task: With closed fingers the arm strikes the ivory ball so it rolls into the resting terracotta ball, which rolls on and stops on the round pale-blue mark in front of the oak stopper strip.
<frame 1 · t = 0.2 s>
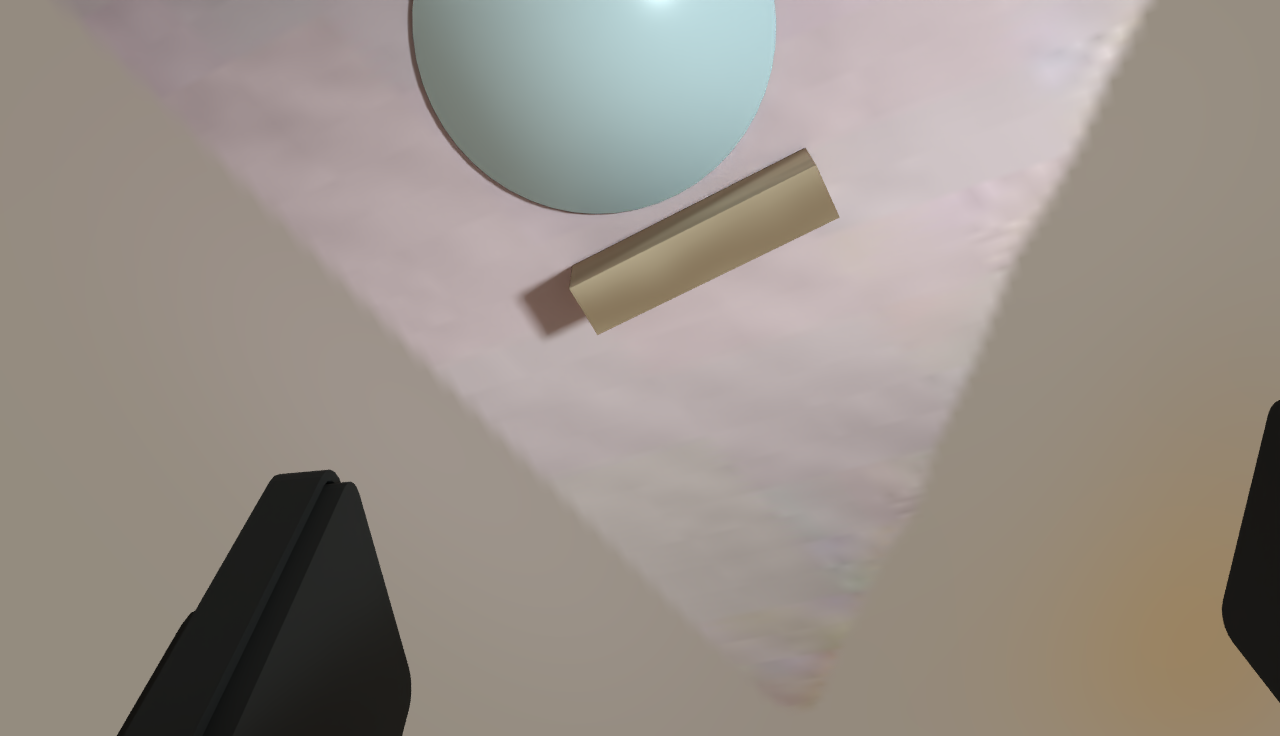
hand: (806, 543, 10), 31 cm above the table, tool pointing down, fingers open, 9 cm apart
blue mark: (595, 39, 37), on the table
oak stopper: (698, 232, 41), on the table
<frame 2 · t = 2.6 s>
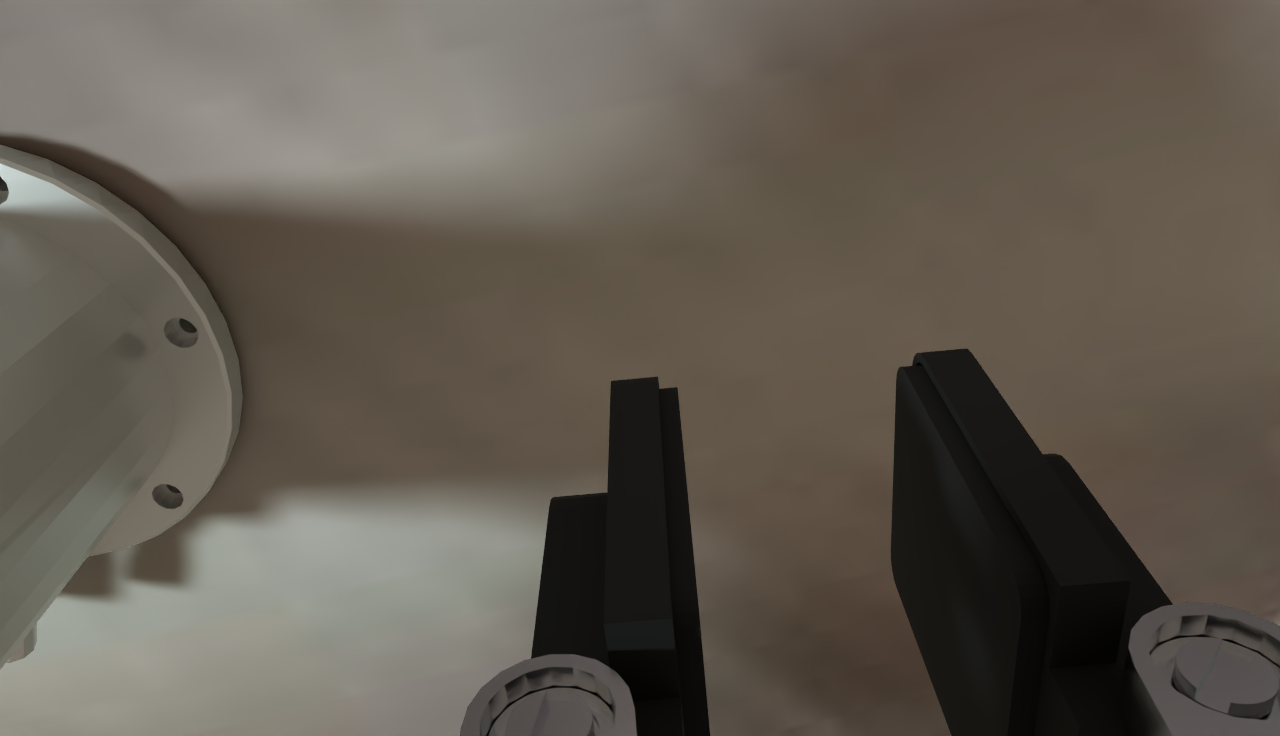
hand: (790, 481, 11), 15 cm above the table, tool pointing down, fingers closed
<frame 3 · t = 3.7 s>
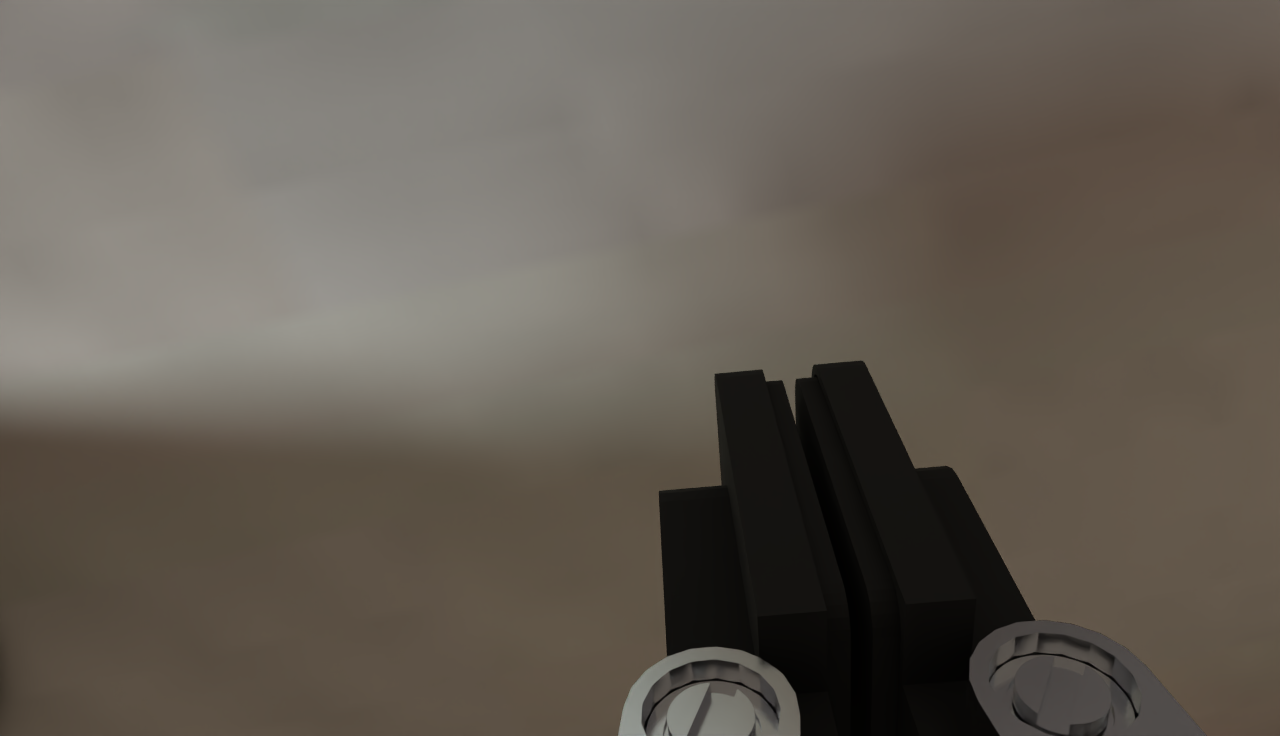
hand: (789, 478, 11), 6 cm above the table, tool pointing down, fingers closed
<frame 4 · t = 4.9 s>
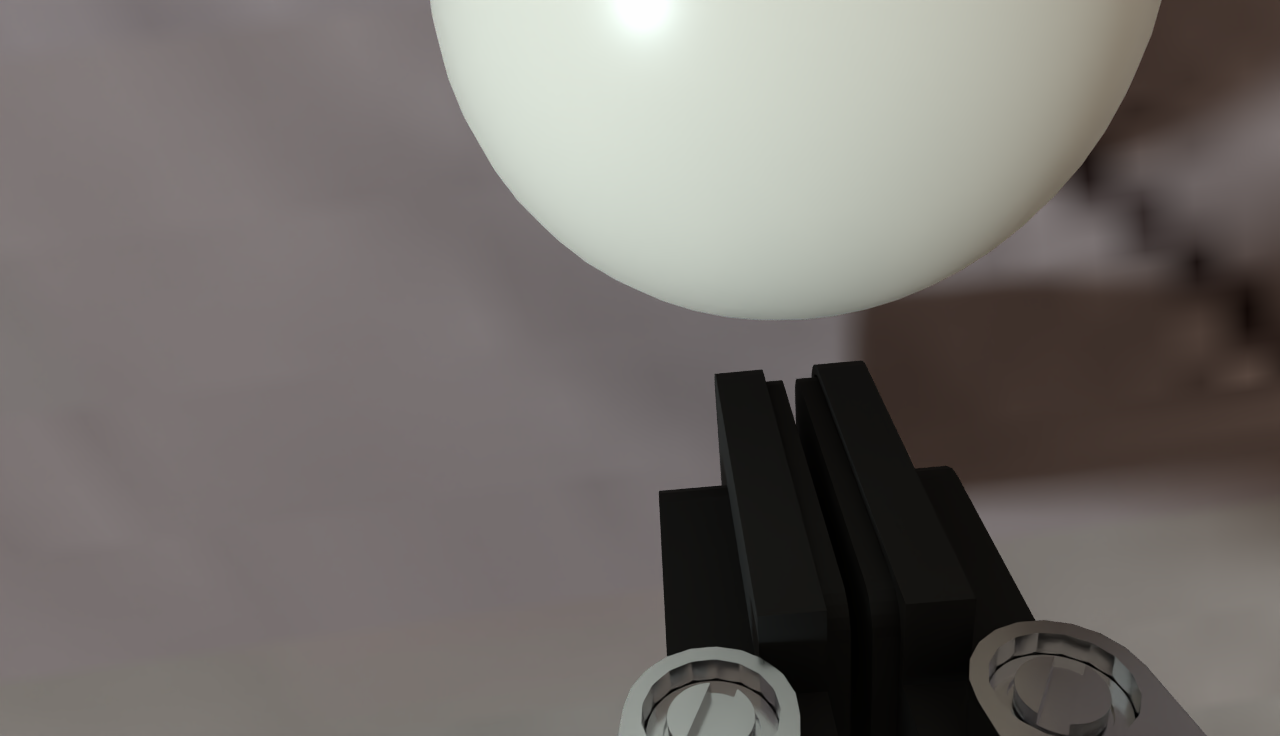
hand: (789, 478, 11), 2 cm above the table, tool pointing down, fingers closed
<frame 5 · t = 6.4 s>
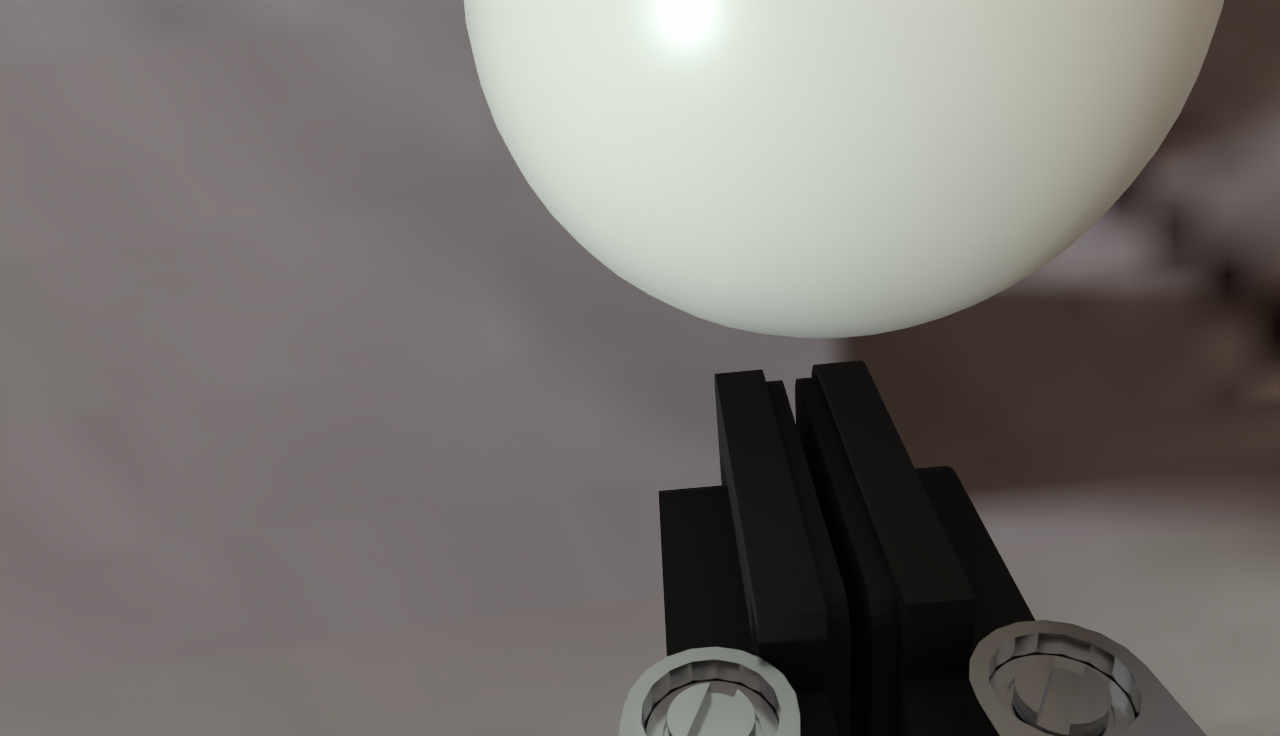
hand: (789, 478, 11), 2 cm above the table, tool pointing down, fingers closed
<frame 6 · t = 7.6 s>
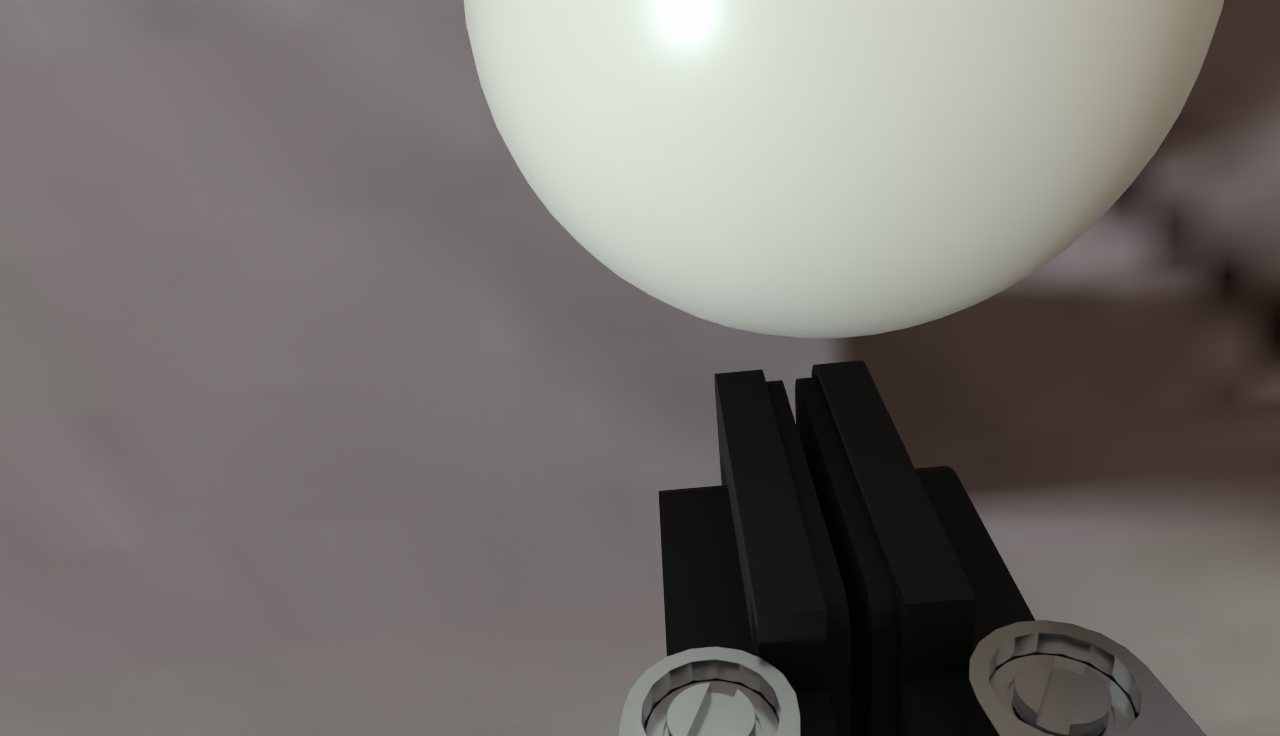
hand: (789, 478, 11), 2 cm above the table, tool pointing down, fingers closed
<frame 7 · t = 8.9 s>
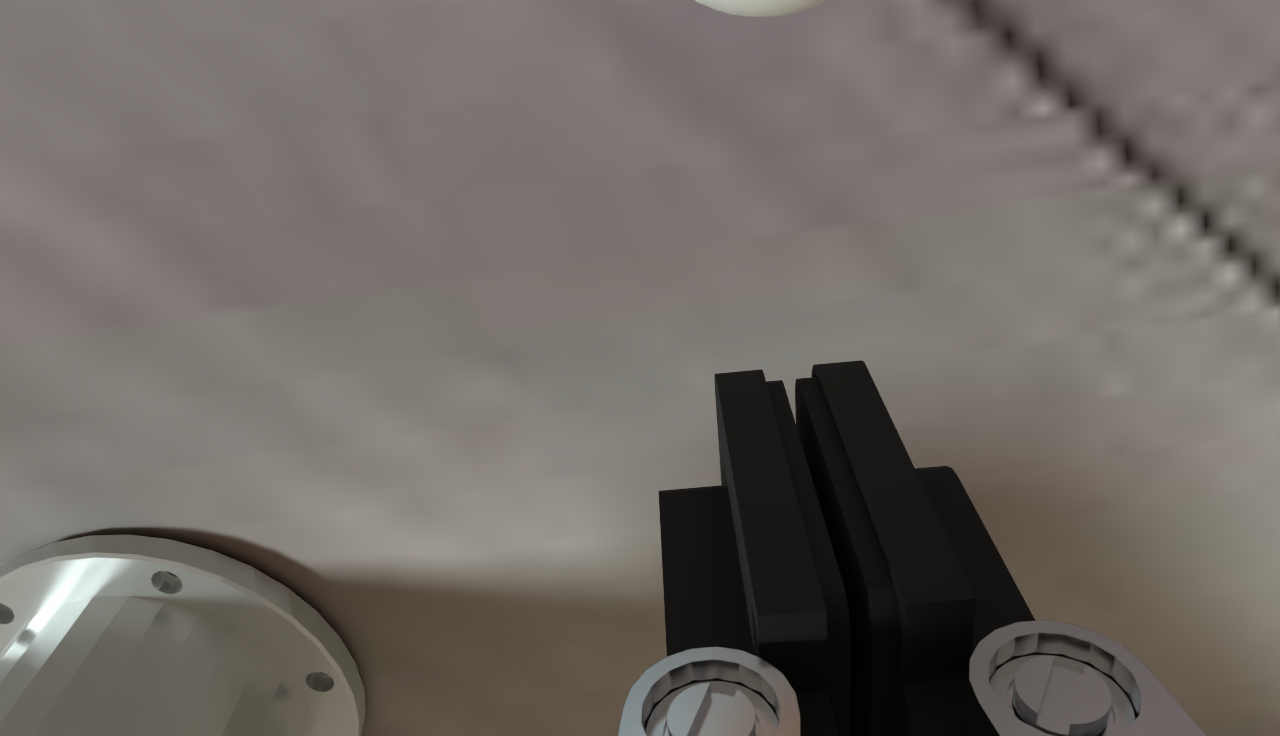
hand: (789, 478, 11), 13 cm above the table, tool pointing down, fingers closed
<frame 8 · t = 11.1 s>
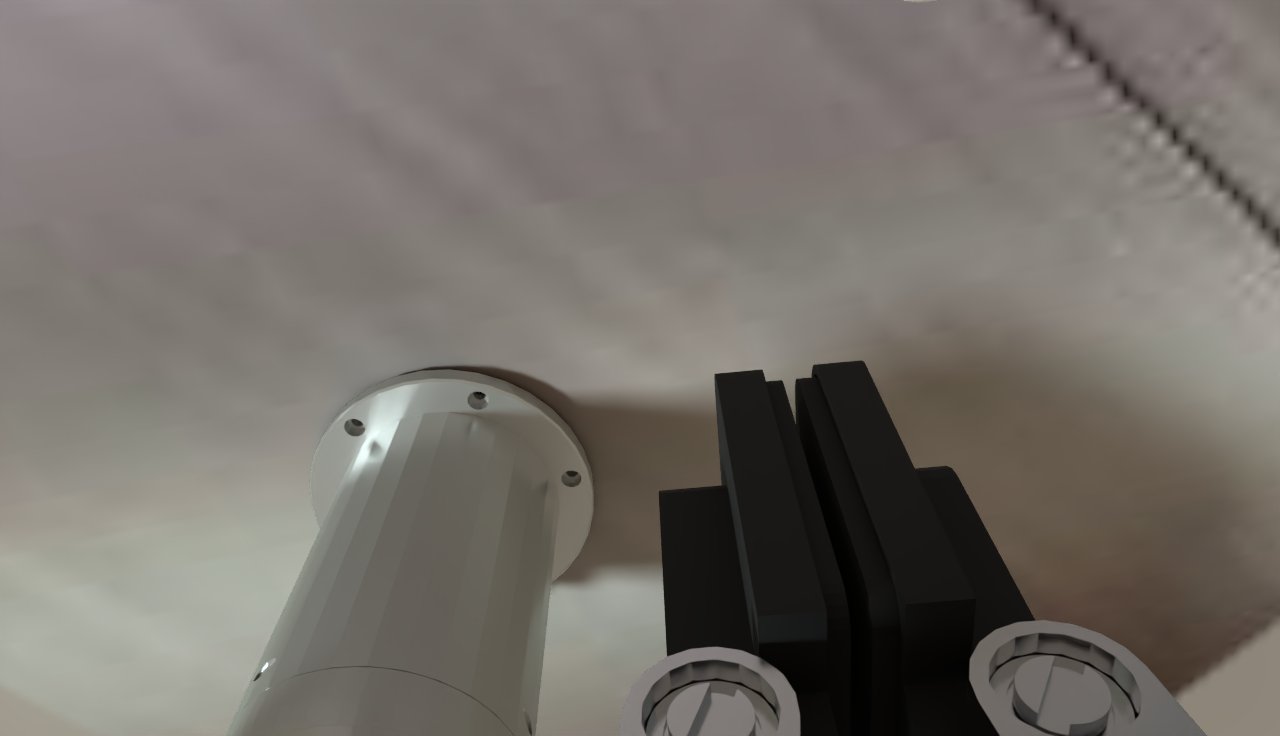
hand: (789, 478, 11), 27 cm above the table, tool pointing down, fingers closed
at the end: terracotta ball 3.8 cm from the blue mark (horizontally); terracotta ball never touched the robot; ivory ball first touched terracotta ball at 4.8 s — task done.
